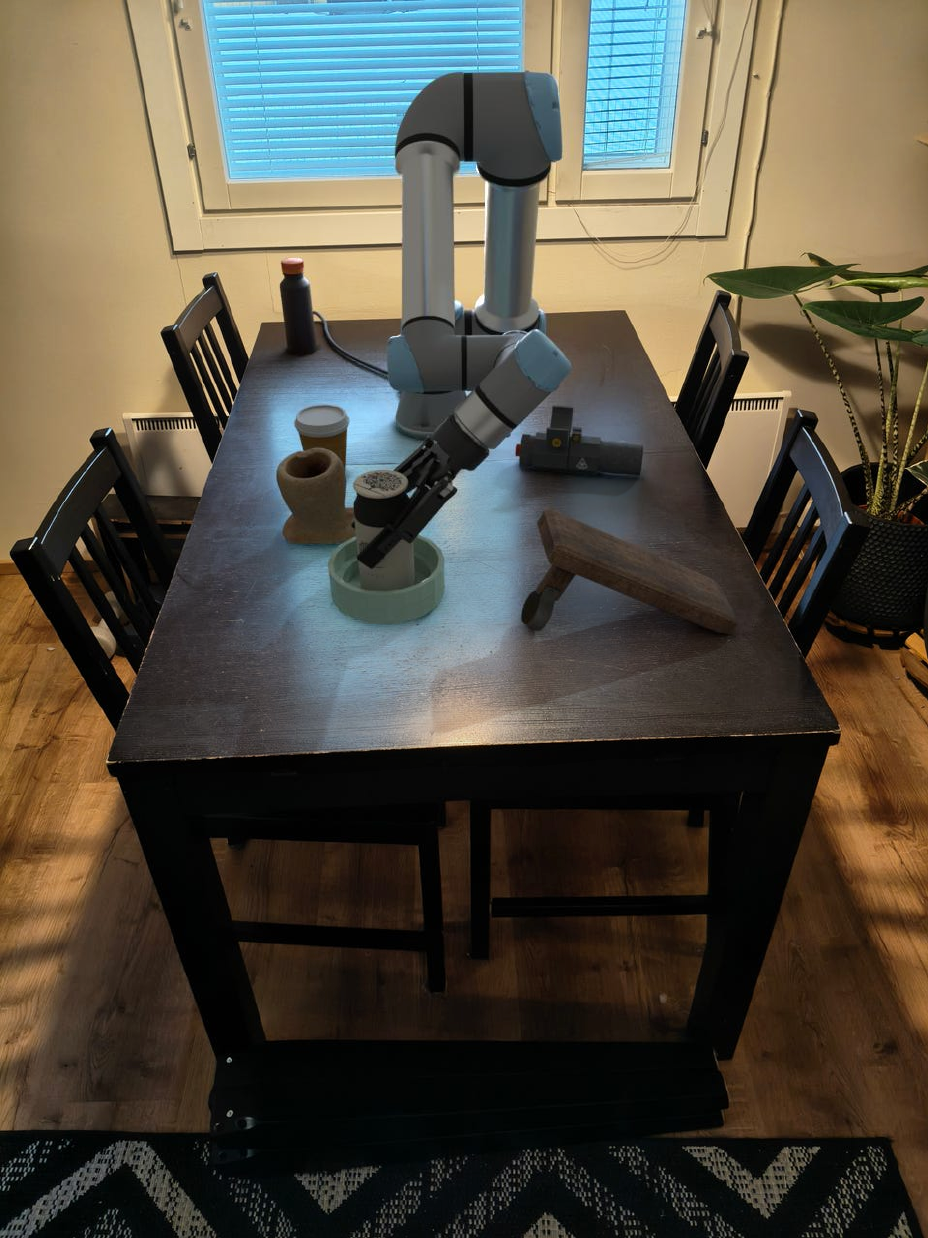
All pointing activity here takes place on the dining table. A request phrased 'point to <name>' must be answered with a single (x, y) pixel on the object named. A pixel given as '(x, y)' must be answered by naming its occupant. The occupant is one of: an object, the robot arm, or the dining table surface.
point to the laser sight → (576, 450)
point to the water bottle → (297, 307)
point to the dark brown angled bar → (621, 575)
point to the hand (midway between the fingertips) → (361, 546)
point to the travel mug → (372, 511)
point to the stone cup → (315, 498)
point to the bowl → (387, 603)
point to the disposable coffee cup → (323, 429)
